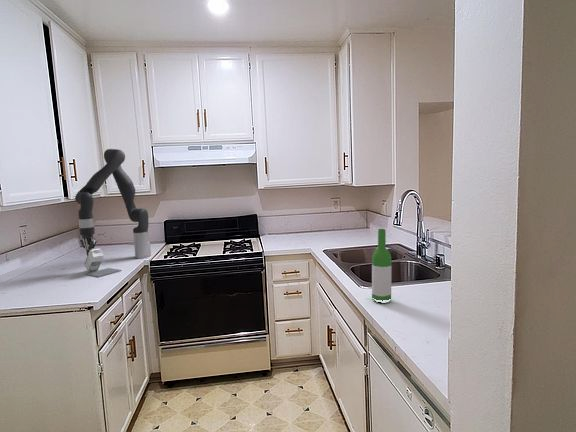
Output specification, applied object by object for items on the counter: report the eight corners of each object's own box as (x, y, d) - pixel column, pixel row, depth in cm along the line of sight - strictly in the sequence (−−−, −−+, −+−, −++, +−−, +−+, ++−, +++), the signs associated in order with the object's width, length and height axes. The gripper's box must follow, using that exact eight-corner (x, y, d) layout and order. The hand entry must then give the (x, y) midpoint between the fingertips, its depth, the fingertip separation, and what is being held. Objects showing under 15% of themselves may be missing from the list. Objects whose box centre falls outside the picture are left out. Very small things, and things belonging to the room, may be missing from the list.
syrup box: (94, 262, 206) (100, 247, 199) (98, 270, 204) (104, 255, 197) (84, 265, 202) (89, 249, 194) (87, 272, 200) (93, 257, 192)
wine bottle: (395, 302, 141) (396, 229, 137) (379, 305, 138) (379, 231, 135) (383, 296, 148) (383, 227, 145) (368, 299, 145) (368, 228, 142)
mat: (108, 268, 207) (108, 267, 207) (121, 270, 201) (121, 269, 201) (85, 274, 195) (85, 273, 195) (98, 277, 189) (98, 276, 189)
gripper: (99, 226, 201) (102, 255, 203) (86, 225, 207) (89, 253, 209) (87, 228, 194) (89, 258, 196) (73, 226, 201) (76, 256, 203)
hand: (89, 255), depth 203 cm, fingers closed
